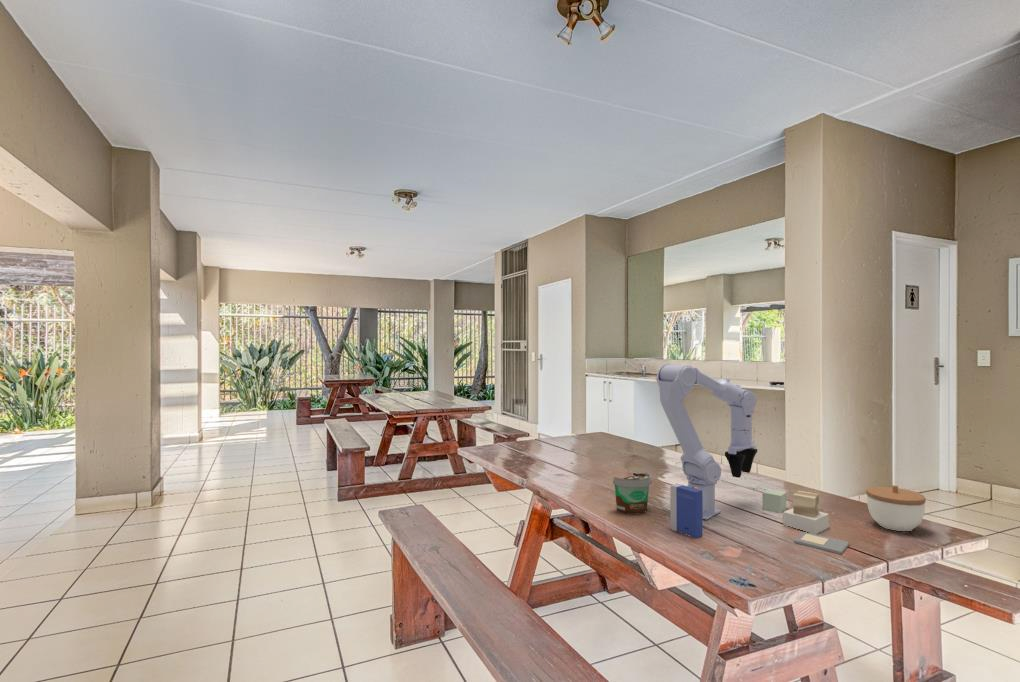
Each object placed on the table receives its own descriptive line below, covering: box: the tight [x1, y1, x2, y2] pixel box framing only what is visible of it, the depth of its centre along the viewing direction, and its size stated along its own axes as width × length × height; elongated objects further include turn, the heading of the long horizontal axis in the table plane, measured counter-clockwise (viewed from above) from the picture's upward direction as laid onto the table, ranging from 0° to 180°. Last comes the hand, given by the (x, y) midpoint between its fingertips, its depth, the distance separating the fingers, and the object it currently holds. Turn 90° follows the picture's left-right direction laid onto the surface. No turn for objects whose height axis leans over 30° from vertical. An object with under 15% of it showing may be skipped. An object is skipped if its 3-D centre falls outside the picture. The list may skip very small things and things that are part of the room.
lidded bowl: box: [865, 484, 926, 532], centre depth 138 cm, size 13×13×11 cm
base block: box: [782, 507, 830, 535], centre depth 139 cm, size 8×8×4 cm
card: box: [793, 531, 850, 555], centre depth 127 cm, size 8×10×1 cm
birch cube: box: [792, 490, 820, 518], centre depth 139 cm, size 5×5×5 cm
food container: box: [612, 472, 653, 515], centre depth 152 cm, size 12×6×10 cm, turn 114°
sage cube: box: [762, 488, 787, 513], centre depth 153 cm, size 5×5×5 cm
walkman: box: [669, 483, 703, 539], centre depth 135 cm, size 8×3×12 cm, turn 35°
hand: (741, 474), depth 156 cm, fingers open, 7 cm apart
